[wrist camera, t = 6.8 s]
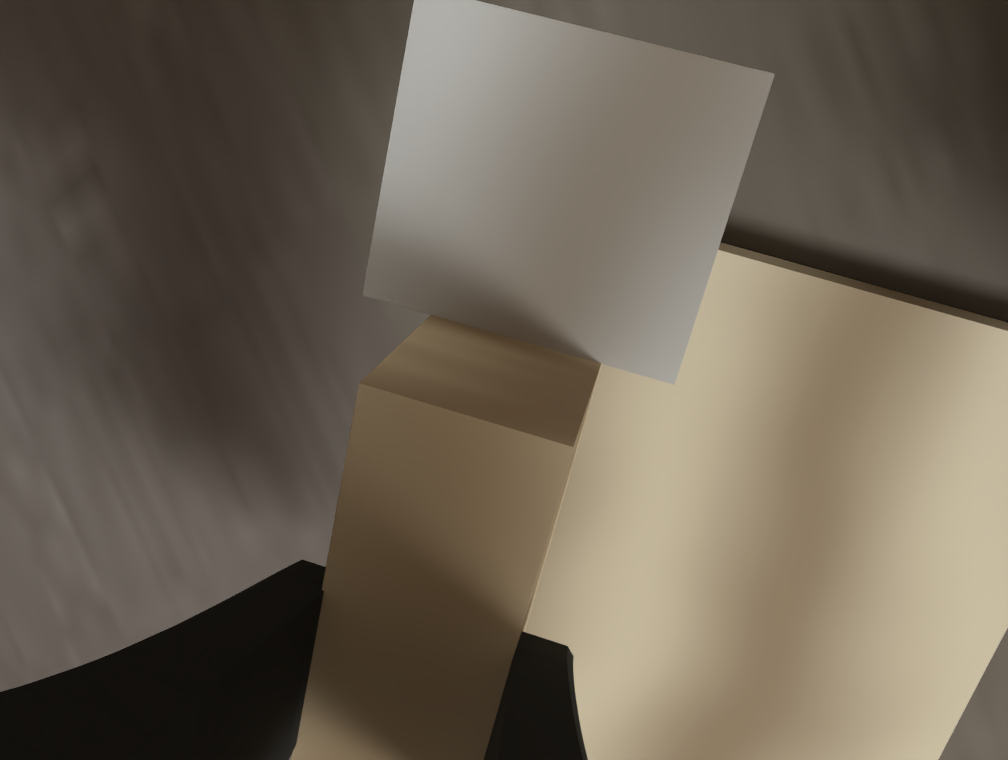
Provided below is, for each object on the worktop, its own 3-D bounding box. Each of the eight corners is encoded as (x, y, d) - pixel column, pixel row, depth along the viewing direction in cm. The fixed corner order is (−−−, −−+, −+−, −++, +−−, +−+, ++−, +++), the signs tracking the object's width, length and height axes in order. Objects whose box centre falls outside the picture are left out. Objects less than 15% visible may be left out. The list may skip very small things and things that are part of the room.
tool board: (392, 966, 26) (381, 1000, 25) (607, 210, 18) (603, 217, 17) (738, 1097, 25) (740, 1137, 24) (1118, 353, 17) (1142, 369, 16)
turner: (288, 788, 17) (187, 966, 14) (435, -10, 12) (328, -36, 8) (514, 868, 16) (466, 1072, 13) (770, 72, 11) (797, 79, 8)
